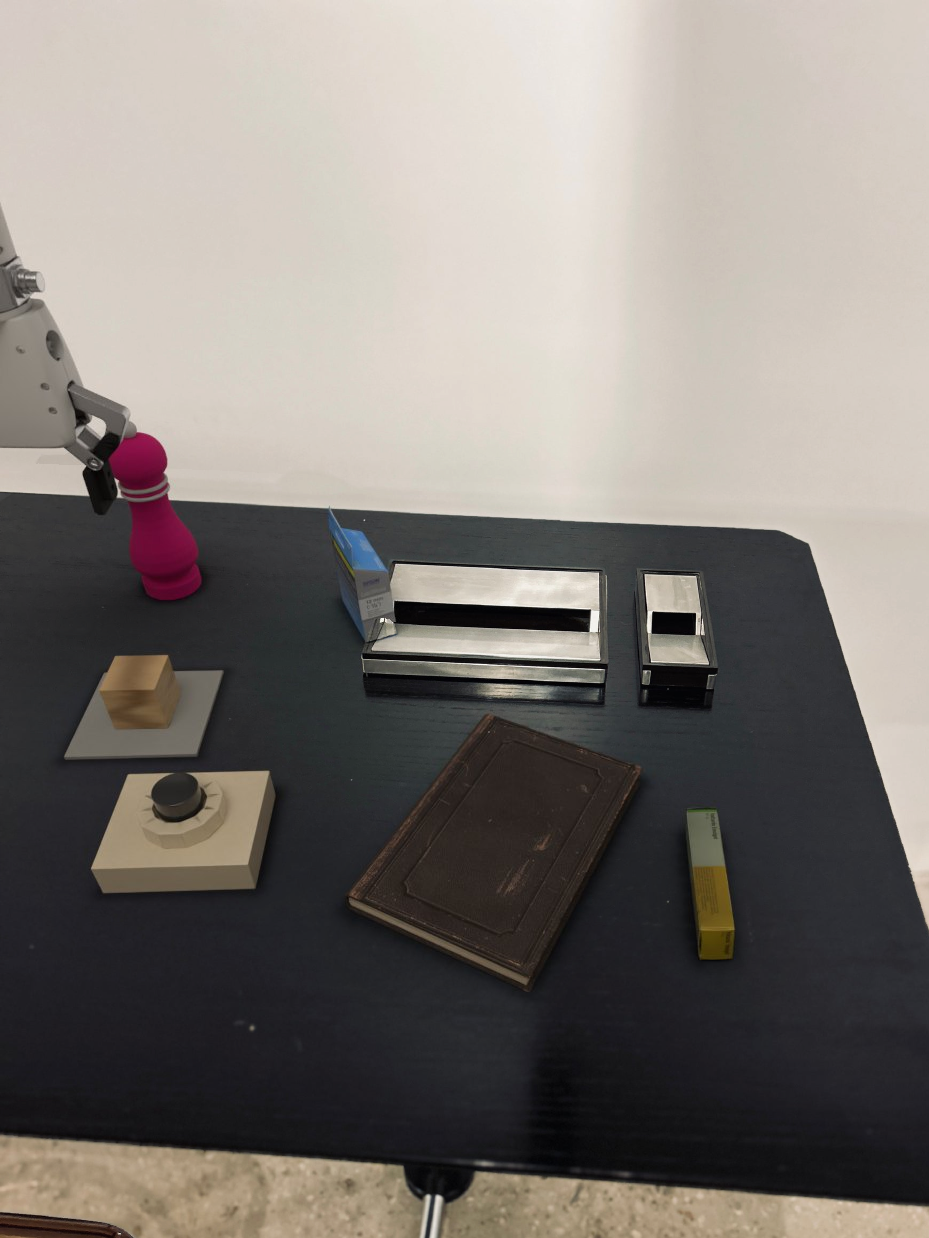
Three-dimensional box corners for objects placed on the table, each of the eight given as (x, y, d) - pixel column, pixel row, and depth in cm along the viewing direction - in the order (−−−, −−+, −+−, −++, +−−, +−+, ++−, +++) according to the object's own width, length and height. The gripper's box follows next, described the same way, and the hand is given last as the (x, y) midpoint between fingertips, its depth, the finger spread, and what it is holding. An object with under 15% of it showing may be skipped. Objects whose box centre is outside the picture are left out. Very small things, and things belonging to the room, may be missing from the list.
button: (152, 823, 69) (145, 806, 68) (164, 789, 72) (157, 772, 70) (198, 822, 69) (192, 805, 68) (208, 788, 72) (202, 771, 70)
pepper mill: (128, 598, 99) (71, 432, 86) (162, 564, 104) (113, 402, 91) (186, 608, 98) (137, 441, 85) (217, 573, 103) (176, 410, 90)
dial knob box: (103, 893, 69) (83, 854, 66) (138, 798, 77) (121, 759, 74) (255, 889, 70) (243, 849, 67) (275, 795, 77) (265, 755, 74)
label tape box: (398, 635, 95) (388, 538, 87) (362, 645, 93) (349, 547, 85) (373, 593, 101) (361, 497, 92) (338, 601, 99) (324, 505, 91)
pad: (65, 759, 80) (63, 756, 80) (105, 675, 89) (104, 672, 89) (197, 756, 81) (196, 753, 80) (224, 673, 90) (223, 670, 89)
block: (114, 729, 83) (98, 690, 79) (129, 694, 86) (115, 655, 83) (168, 728, 83) (154, 689, 80) (181, 693, 87) (168, 654, 83)
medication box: (683, 837, 75) (684, 805, 72) (715, 836, 74) (718, 804, 72) (697, 961, 65) (699, 929, 63) (734, 960, 65) (738, 929, 62)
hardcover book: (639, 784, 79) (642, 766, 77) (529, 993, 63) (530, 976, 62) (483, 728, 84) (483, 711, 83) (346, 909, 69) (342, 891, 67)
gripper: (110, 274, 64) (165, 485, 75) (-136, 267, 63) (-43, 482, 74) (76, 309, 58) (140, 531, 70) (-195, 302, 57) (-85, 528, 69)
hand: (46, 505), depth 72 cm, fingers open, 9 cm apart
